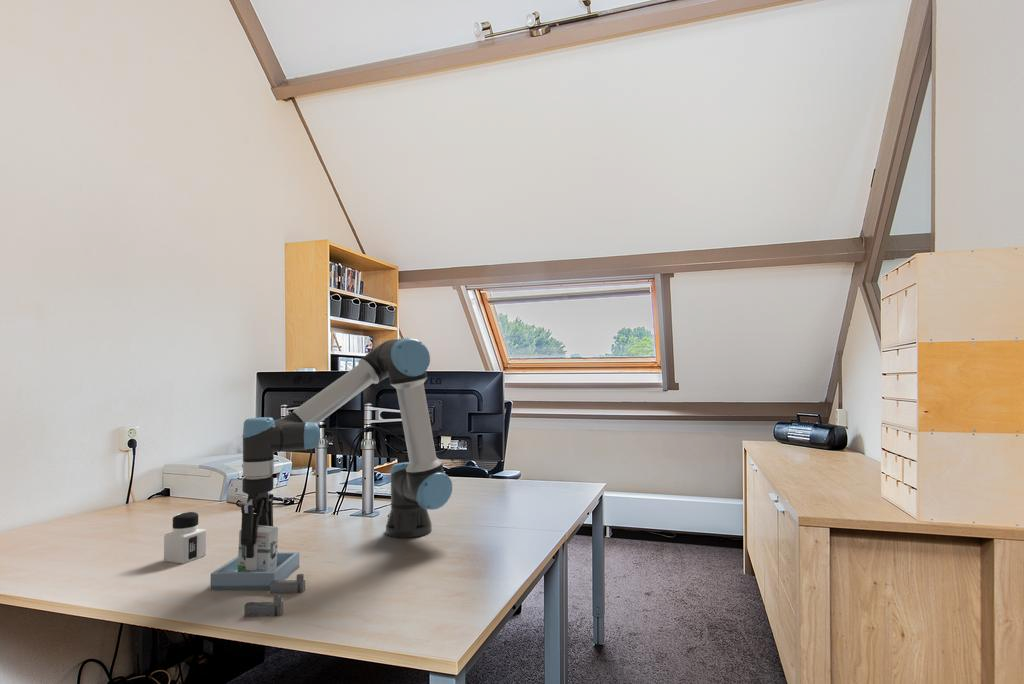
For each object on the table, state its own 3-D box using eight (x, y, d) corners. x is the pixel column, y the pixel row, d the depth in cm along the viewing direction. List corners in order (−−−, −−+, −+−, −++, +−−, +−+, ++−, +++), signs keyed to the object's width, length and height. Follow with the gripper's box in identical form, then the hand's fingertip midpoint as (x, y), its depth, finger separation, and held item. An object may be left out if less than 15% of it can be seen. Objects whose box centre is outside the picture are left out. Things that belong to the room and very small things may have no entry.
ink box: (236, 575, 145) (237, 530, 145) (247, 568, 150) (248, 524, 150) (267, 578, 144) (268, 532, 144) (277, 570, 149) (278, 526, 149)
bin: (299, 566, 155) (299, 552, 155) (274, 589, 139) (274, 573, 139) (242, 567, 155) (242, 552, 155) (210, 590, 139) (210, 573, 140)
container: (206, 555, 166) (206, 511, 166) (183, 564, 159) (184, 517, 159) (186, 553, 168) (187, 509, 169) (163, 561, 161) (163, 515, 162)
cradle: (305, 590, 138) (305, 573, 139) (280, 616, 124) (280, 597, 124) (273, 590, 138) (273, 574, 139) (244, 616, 124) (244, 598, 124)
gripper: (260, 470, 158) (259, 553, 157) (225, 483, 139) (224, 578, 138) (287, 469, 158) (286, 553, 157) (255, 483, 139) (254, 578, 138)
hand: (257, 564), depth 147 cm, fingers open, 6 cm apart
